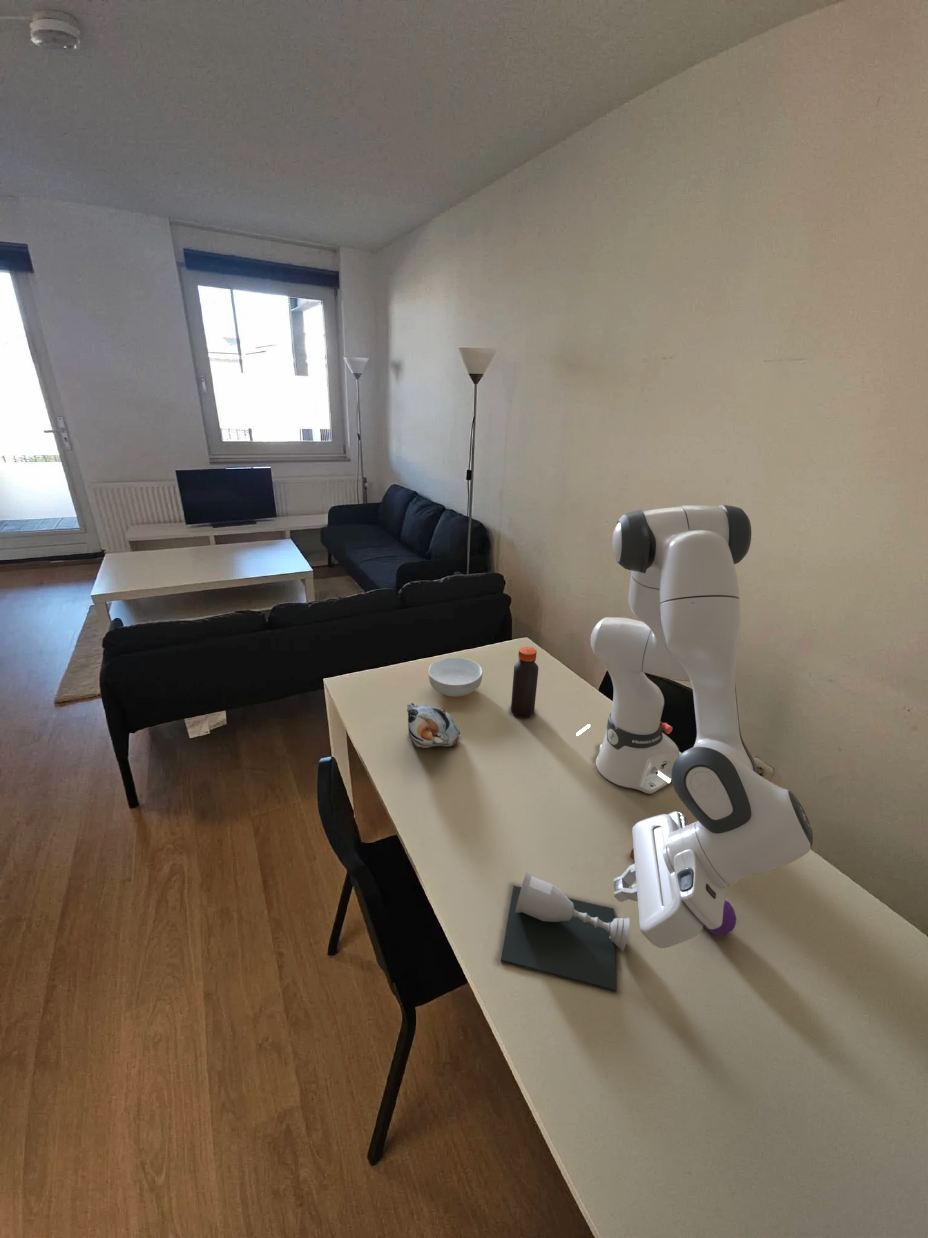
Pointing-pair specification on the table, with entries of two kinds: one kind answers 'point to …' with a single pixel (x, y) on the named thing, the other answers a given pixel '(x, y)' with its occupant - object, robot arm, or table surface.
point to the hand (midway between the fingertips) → (616, 891)
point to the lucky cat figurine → (431, 726)
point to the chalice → (562, 909)
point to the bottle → (524, 683)
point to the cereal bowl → (455, 676)
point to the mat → (562, 944)
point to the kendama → (728, 916)
